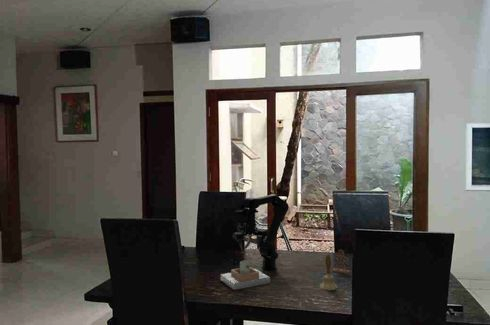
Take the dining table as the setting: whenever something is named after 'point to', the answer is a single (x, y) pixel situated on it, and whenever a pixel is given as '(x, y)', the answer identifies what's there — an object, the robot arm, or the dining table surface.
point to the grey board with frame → (244, 279)
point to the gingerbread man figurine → (341, 265)
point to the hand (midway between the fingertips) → (250, 250)
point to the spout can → (244, 267)
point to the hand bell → (328, 277)
